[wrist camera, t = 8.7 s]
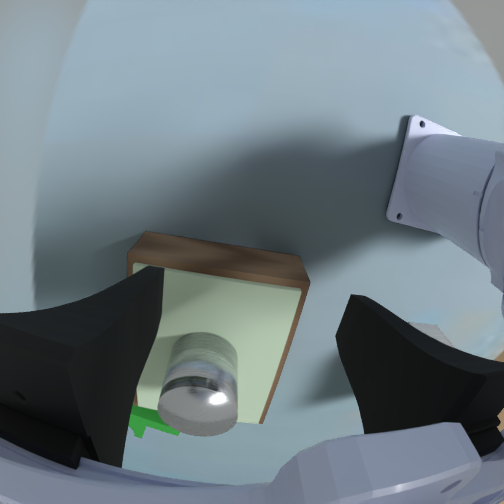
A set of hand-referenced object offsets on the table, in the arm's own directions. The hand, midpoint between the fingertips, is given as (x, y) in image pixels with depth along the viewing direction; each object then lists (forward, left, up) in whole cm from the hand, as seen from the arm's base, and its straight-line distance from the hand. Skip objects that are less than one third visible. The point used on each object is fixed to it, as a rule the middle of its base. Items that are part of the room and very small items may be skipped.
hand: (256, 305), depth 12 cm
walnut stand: (+2, +9, -10) cm, 14 cm away
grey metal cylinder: (+2, +8, -6) cm, 10 cm away
